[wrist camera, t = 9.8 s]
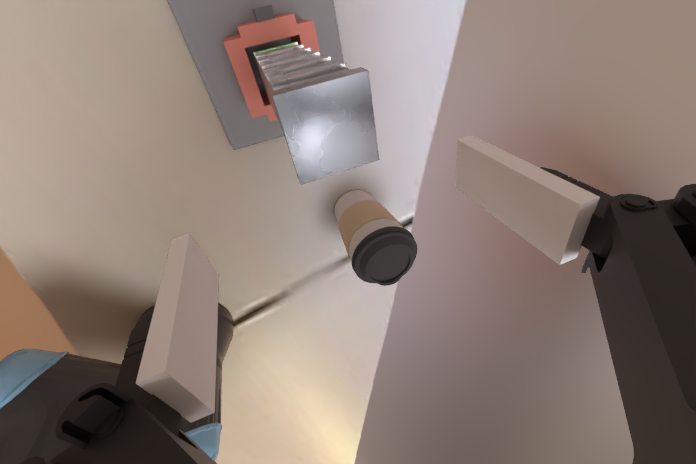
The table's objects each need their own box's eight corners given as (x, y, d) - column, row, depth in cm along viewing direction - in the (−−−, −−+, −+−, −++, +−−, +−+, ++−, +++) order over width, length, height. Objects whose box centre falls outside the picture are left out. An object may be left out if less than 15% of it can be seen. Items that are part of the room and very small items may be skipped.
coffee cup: (325, 188, 46) (357, 246, 35) (380, 178, 48) (427, 231, 37) (329, 235, 52) (358, 299, 40) (379, 225, 54) (419, 283, 42)
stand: (233, 147, 39) (234, 169, 33) (164, -10, 29) (148, -15, 23) (350, 113, 41) (368, 129, 35) (323, -44, 31) (343, -56, 25)
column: (267, 101, 30) (300, 184, 16) (250, 52, 28) (272, 96, 13) (308, 90, 31) (379, 159, 16) (296, 40, 28) (368, 70, 14)
